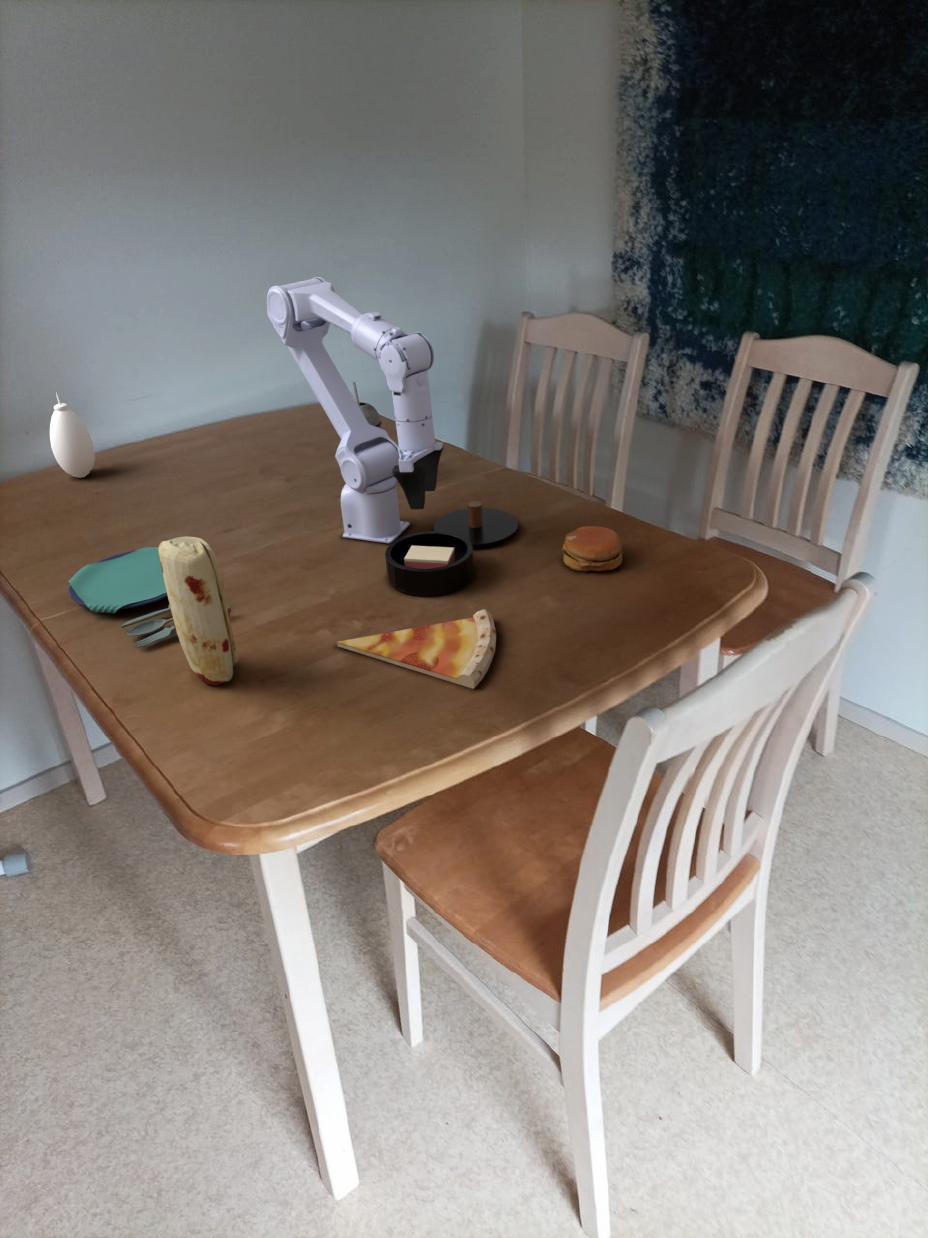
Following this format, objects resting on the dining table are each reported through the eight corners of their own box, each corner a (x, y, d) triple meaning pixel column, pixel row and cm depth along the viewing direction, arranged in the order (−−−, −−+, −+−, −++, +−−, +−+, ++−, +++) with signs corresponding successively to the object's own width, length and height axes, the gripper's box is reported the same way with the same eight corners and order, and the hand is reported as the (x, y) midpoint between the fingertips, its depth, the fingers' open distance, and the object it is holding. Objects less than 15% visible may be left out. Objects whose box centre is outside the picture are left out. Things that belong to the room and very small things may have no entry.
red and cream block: (406, 578, 137) (404, 558, 135) (413, 564, 141) (411, 545, 139) (449, 580, 136) (448, 560, 134) (455, 567, 140) (454, 547, 138)
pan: (373, 589, 136) (370, 564, 133) (410, 551, 146) (407, 526, 144) (454, 602, 131) (452, 576, 129) (486, 561, 142) (484, 536, 139)
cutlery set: (174, 546, 152) (171, 535, 151) (246, 613, 131) (243, 600, 130) (57, 584, 143) (53, 571, 141) (114, 662, 122) (110, 649, 120)
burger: (632, 567, 137) (634, 540, 135) (579, 579, 135) (579, 552, 133) (604, 542, 145) (605, 516, 143) (553, 553, 143) (552, 527, 141)
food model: (175, 670, 119) (140, 538, 109) (219, 650, 123) (189, 521, 112) (210, 700, 113) (175, 563, 102) (255, 678, 117) (226, 544, 106)
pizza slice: (400, 596, 133) (399, 585, 132) (530, 630, 123) (530, 618, 122) (337, 647, 122) (335, 635, 121) (474, 689, 112) (473, 676, 111)
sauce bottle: (86, 466, 189) (62, 383, 179) (108, 473, 185) (84, 388, 175) (54, 478, 183) (27, 394, 174) (75, 485, 179) (49, 399, 170)
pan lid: (420, 543, 148) (418, 516, 146) (453, 509, 160) (451, 483, 157) (501, 555, 143) (500, 526, 141) (529, 518, 155) (528, 491, 152)
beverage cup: (394, 476, 175) (384, 376, 164) (372, 489, 170) (361, 387, 159) (365, 470, 178) (354, 372, 168) (343, 483, 173) (330, 383, 163)
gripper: (427, 431, 127) (436, 517, 134) (449, 402, 140) (457, 482, 146) (381, 431, 129) (392, 517, 136) (406, 403, 141) (416, 482, 148)
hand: (423, 499), depth 141 cm, fingers open, 7 cm apart
